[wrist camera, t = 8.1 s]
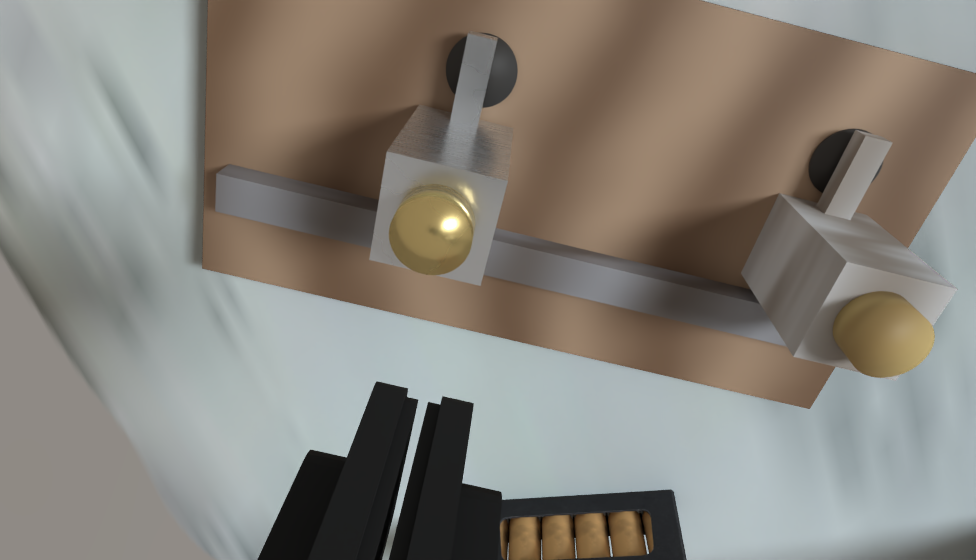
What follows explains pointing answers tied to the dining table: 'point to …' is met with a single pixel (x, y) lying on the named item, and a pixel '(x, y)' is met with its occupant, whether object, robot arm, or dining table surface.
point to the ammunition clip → (592, 527)
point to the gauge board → (603, 178)
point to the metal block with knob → (446, 181)
